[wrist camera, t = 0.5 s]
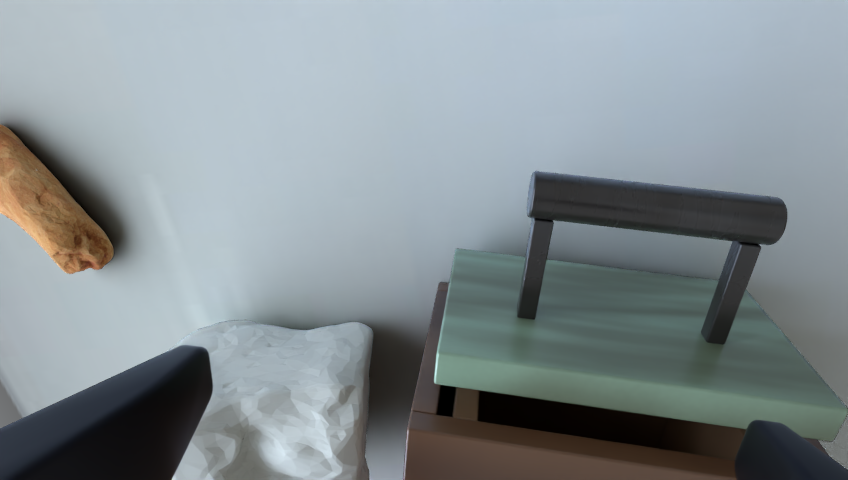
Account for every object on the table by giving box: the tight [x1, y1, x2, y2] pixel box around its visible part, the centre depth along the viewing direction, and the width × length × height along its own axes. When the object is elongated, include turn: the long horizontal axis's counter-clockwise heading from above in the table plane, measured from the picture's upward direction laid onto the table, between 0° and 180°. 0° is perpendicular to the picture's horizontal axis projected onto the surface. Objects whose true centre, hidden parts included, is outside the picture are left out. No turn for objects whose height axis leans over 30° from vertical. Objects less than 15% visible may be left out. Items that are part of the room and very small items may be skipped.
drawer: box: [434, 171, 848, 460], centre depth 20 cm, size 18×11×7 cm, turn 176°
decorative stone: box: [168, 320, 373, 480], centre depth 24 cm, size 11×9×10 cm
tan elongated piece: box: [0, 125, 114, 274], centre depth 24 cm, size 8×2×5 cm
